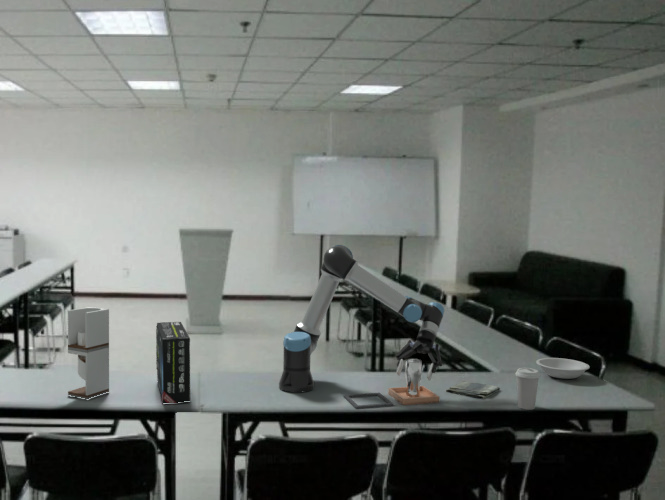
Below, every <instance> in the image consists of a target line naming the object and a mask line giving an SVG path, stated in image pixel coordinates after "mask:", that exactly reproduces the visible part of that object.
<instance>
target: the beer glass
mask: <svg viewBox="0 0 665 500" xmlns="http://www.w3.org/2000/svg"><path fill="white" fill-rule="evenodd" d="M422 363H423V362H422V360H421V359H418V358H407V359H406V360H405V363H404V364H405V367H404V377H405V382H406V387H407V391H406V397H408V398H418V397H420V386H421V380H422V375H423V365H422Z"/></svg>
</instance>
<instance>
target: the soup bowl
mask: <svg viewBox="0 0 665 500" xmlns="http://www.w3.org/2000/svg"><path fill="white" fill-rule="evenodd" d="M535 363H536V364H537V365H538V366H539V367H540V369H541V370H542V372H543V373H545V374H546V375H548V376H550V377H553V378H557V379H565V380H566V379H567V380H569V379H570V380H572V379H576V378H579V377H580V376H582V375H583V374H584V373H585V371H587V370H589V369H590V367H591V366H590V365H589V364H588V363H585V362H583V361H580V360H575V359H570V358H569V359H568V358H561V357H560V358H559V357H544V358H540V359H539V358H538V359H536V361H535Z"/></svg>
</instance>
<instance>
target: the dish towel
mask: <svg viewBox="0 0 665 500" xmlns="http://www.w3.org/2000/svg"><path fill="white" fill-rule="evenodd" d="M500 390H501V388H500V386H496V385H492V384H485V383H479V382H472V381H466V380H463V381H462V382H460V383H458V384H456V385H453V386H451V387H449V388H447V389H445V392H446V393H452V394H456V395H459V394H460V395H461V396H466V397H468V398H469V397H470V398H475V399H476V398H477V399H481V400H484V399H487V398H488V397H491V395H493V394H495V392H496V393H497V392H500ZM460 395H459V396H460Z"/></svg>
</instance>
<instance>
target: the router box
mask: <svg viewBox="0 0 665 500" xmlns="http://www.w3.org/2000/svg"><path fill="white" fill-rule="evenodd" d="M155 333H156V334H155V335H156V336H155V340H156V343H155V344H156V345H155V346H156V347H155V349H156V350H155V351H156V353H155V354H156V358H155V359H156V362H155V364H156V370H157V371H156V375H157V376H156V379H157V381H158V382H157V386H158V385H159V386H158V390H159V394H161V395H160V399H161V398H162V399H161V403H162V402H163V403H178V402H184V401H190V402H191V350H190V347H191V338H190V336H189V334H188V332H187V330H186V329H185V326H184V325H183V323H182V321H168V322H161V321H160V322H157V323H156V328H155ZM163 403H162V404H163Z"/></svg>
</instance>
